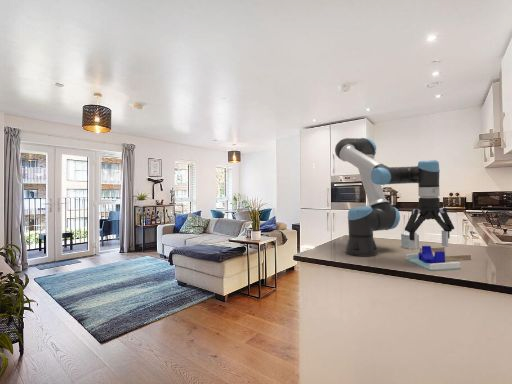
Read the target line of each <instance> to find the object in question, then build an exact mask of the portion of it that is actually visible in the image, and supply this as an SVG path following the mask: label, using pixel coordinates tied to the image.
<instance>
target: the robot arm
mask: <svg viewBox="0 0 512 384" xmlns="http://www.w3.org/2000/svg"><path fill="white" fill-rule="evenodd" d="M376 150H377V145H376V142H374V141H373V140H372V139H370V138H365V137H362V138H358V137H357V138H356V137H355V138H347V137H346V138H343V139H340V140H339V141H338V142H337V144H335V147H334V153H335V155H336V157H337V158H338V159H339V160H341V161H342V162H347V163H348V164H351V165H352V166H354V167H356V168H357V170H358V173H359V176H360V179H361V182H362V185H363V188H364V192H365V195H366V198H367V202H368V205H363V206H356V207H351V208H349V210H348V211H347V221H348V222H347V224H348V226H347V227H348V239H347V243H346V246H345V253H346V254H347V255H350V256H356V257H372V256H376V255H378V246H377V244H376V242H375V238H374V232H377V231H389V230H394V229H396V228H397V226H398V225H399V223H400V221H401V214H400V211H399V210H398V208H396V207H395V206H392V203H391V202H390V201H389V200H387V198H386V195H385V193H384V190H383V186H384V185H385V186H386V185H399V184H402V185H403V184H404V185H405V184H418V185H417V187H418V192H417V193H418V194H417V195H418V207H419V209H415V208H412V209H411V213H410V216H409V219H408V221H407V222H406V226H405V227H404V231H405V232H407V233H409V237H410V240H411V247H412V248H415V249H416V250H417V249H418V248H417V234H418V233H417V231H418V229H419V228H420V226H422V224H423V222H425V221H426V220H435V221H436V223H437V224H438V225H439V226H440V228H441V229H442V230H441V247H444V248H445V247H446V248H449V239H450V238H451V236H450V235H451V234H450V232H451V233H452V231H453V230H455V226H454V224H453V222H452V219H451V218H450V216H449V214H448V209H447V208H446V207H440V205H441V203H440V200H441V199H440V198H439V197H440V194H441V193H440V162H439V161H438V160H436V159H434V160H433V159H432V160H429V159H428V160H420V161H418V162H417V166H416V165H415V166H393V167H392V166H391V167H390V166H387V165H385V164H384V163H381V162H380V161H378V160H376V159H375V156H376V154H377V151H376ZM439 214H440V215H441V216H440V215H439Z"/></svg>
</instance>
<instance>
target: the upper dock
mask: <svg viewBox="0 0 512 384" xmlns="http://www.w3.org/2000/svg"><path fill="white" fill-rule="evenodd" d="M445 250H446V249H445V246H438V247H437V246H436V247H435V246H433V247H431V251H432V253H435V251H443V252H445ZM419 253H422V247H419ZM471 256H472V255H471V254H469V253H467V254H454V255H445V262H451V261H452V262H456V261H467V260H468V261H470V260H472V257H471Z"/></svg>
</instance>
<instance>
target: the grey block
mask: <svg viewBox="0 0 512 384" xmlns="http://www.w3.org/2000/svg"><path fill="white" fill-rule="evenodd" d="M400 235H401V236H400V237H401V239H400V241H401V242H400V243H401V248H404V249H409V250H414V249H415V248H412V247H411V240H410V237H409V232H406V233H401V234H400ZM417 249H420V235H419V234H418V233H417Z"/></svg>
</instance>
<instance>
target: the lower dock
mask: <svg viewBox="0 0 512 384" xmlns="http://www.w3.org/2000/svg"><path fill="white" fill-rule="evenodd" d="M432 254H433V255H434V252H432ZM405 260H406V261H408V262H410V263H413V264H414V265H417V266H420V267H422V268H423V269H426V270H428V271H448V270H449V271H450V270H461V262H460V261H452V262H451V261H448V262H447V261H445V263H433V264H430V263H425V262H423V261H421V260H419V253H407V254H405Z"/></svg>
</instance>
